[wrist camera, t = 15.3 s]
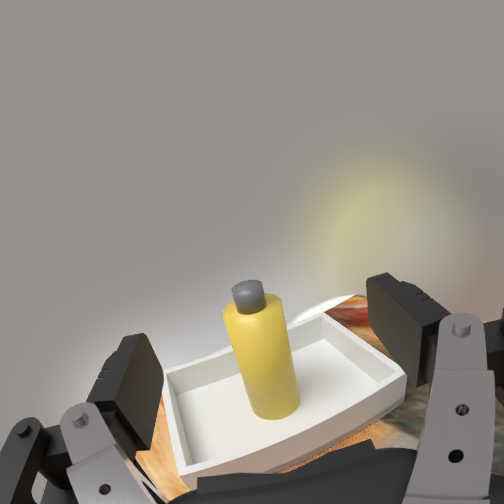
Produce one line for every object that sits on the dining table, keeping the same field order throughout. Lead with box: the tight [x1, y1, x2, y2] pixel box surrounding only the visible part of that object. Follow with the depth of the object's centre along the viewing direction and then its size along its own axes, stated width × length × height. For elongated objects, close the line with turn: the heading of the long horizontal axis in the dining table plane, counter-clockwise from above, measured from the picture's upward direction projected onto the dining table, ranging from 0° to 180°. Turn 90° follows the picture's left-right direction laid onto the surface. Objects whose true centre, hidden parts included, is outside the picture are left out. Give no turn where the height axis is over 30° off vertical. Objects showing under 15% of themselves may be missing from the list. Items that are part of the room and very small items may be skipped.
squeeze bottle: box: [223, 280, 300, 420], centre depth 28 cm, size 5×5×14 cm
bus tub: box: [162, 312, 407, 491], centre depth 30 cm, size 22×16×4 cm
